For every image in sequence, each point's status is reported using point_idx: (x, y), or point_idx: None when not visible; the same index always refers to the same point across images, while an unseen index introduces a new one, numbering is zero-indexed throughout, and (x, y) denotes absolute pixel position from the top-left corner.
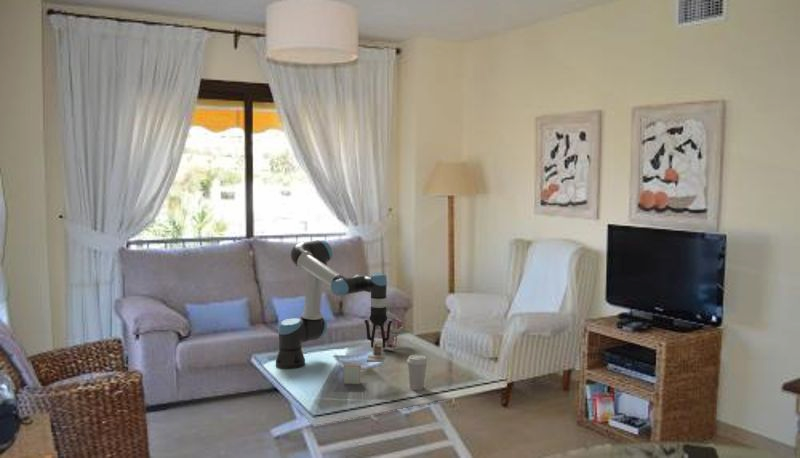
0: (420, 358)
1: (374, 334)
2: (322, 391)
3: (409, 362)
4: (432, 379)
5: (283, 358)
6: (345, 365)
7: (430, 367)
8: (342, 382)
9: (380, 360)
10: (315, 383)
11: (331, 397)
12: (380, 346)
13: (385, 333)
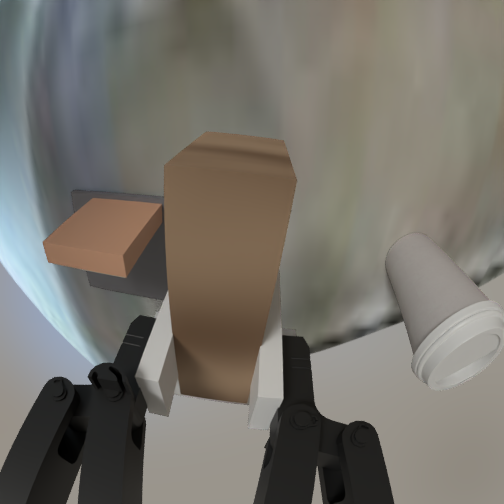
0: (477, 358)
1: (137, 488)
2: (61, 272)
3: (415, 373)
4: (489, 166)
5: None
6: (55, 263)
7: (499, 18)
8: (87, 200)
9: None
10: (18, 201)
11: (104, 317)
12: (245, 396)
13: None
